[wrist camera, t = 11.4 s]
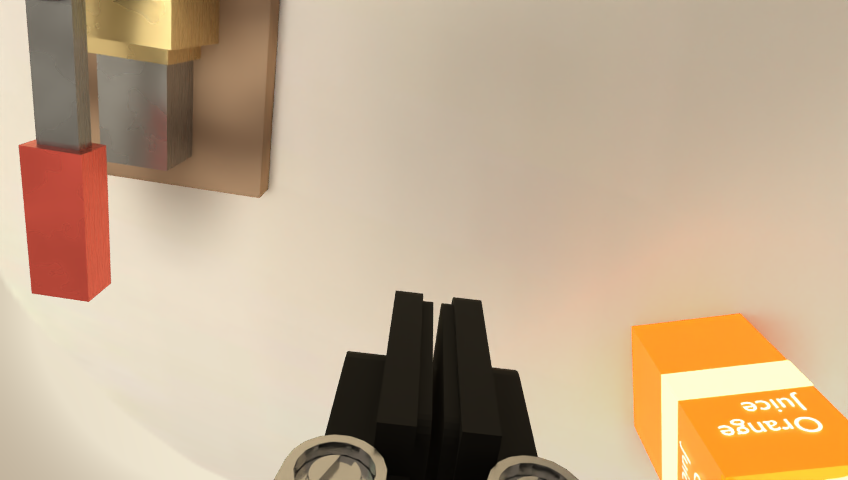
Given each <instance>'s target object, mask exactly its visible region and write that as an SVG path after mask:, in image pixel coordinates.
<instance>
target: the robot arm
mask: <svg viewBox="0 0 848 480" xmlns="http://www.w3.org/2000/svg"><path fill="white" fill-rule="evenodd" d="M274 480H578V479H577V478H576V477H575V476H574V475H573V474H571V473H570V472H569V471H568V470H567V469H565V468H563V467H561V466H560V465H558V464H556V463H554V462H552V461H549V460H546V459H543V458H540V457H538V456H537V452H536V447H535V443H534V438H533V434H532V430H531V425H530V421H529V416H528V412H527V408H526V403H525V399H524V395H523V390H522V386H521V381H520V377H519V374H518V371H516V370H509V369H500V368H492V366H491V360H490V353H489V347H488V341H487V334H486V328H485V321H484V315H483V309H482V302H481V301H480V300H472V299H463V298H455V297H453V299H452V304H443V303H442V304H441V309H440V315H439V322H438V329H437V336H436V343H435V350H434V356H433V302H426V301H423V294H420V293H412V292H403V291H396V293H395V300H394V307H393V314H392V320H391V327H390V334H389V341H388V348H387V355H378V354H369V353H360V352H351V351H348V352H347V354H346V357H345V361H344V365H343V368H342V372H341V376H340V380H339V384H338V387H337V391H336V395H335V399H334V403H333V406H332V410H331V414H330V418H329V422H328V425H327V429H326V433H325V436H319V437H316V438H313V439H310V440H307V441H305V442H303V443H302V444H300V445H299V446H297V447H296V448H294V449H293V450H292V452H291V453H290V454H289V455H288V456H287V458H286V459H285V461H284V462H283V464H282V466H281V468H280V469H279V471H278V473H277V475H276V477H275V478H274Z"/></svg>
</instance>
